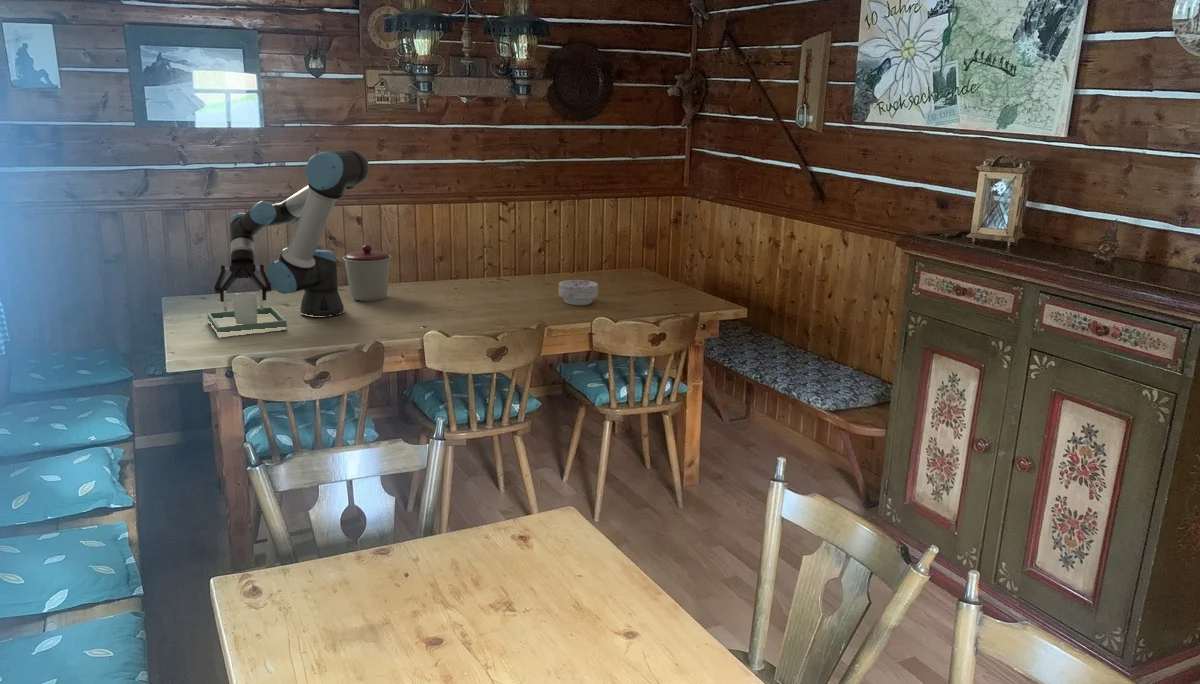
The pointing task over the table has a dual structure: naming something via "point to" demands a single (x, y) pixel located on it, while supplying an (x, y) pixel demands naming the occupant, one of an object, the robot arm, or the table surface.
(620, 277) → the table surface
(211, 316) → the green box
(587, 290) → the paper bowls
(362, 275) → the canister
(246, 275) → the robot arm
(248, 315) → the white cup
